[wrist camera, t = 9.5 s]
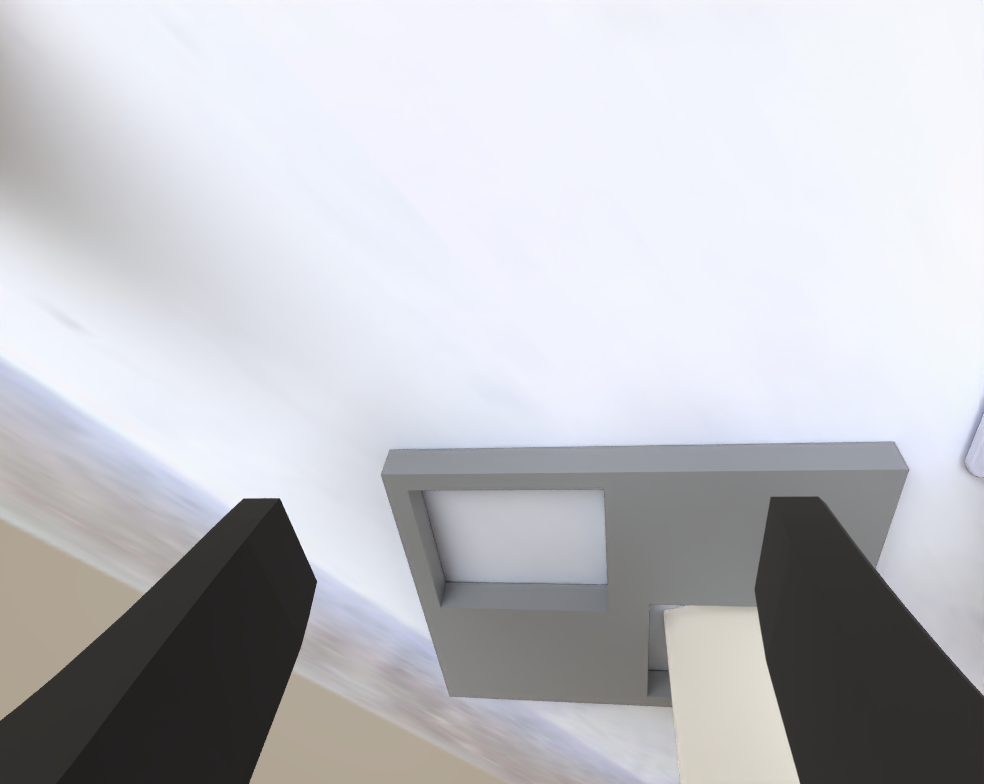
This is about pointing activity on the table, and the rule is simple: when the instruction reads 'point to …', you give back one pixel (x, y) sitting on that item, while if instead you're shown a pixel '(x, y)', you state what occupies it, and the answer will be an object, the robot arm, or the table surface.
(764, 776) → the plug
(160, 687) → the robot arm
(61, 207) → the table surface
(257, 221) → the table surface
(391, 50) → the table surface
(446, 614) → the socket panel
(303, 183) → the table surface
